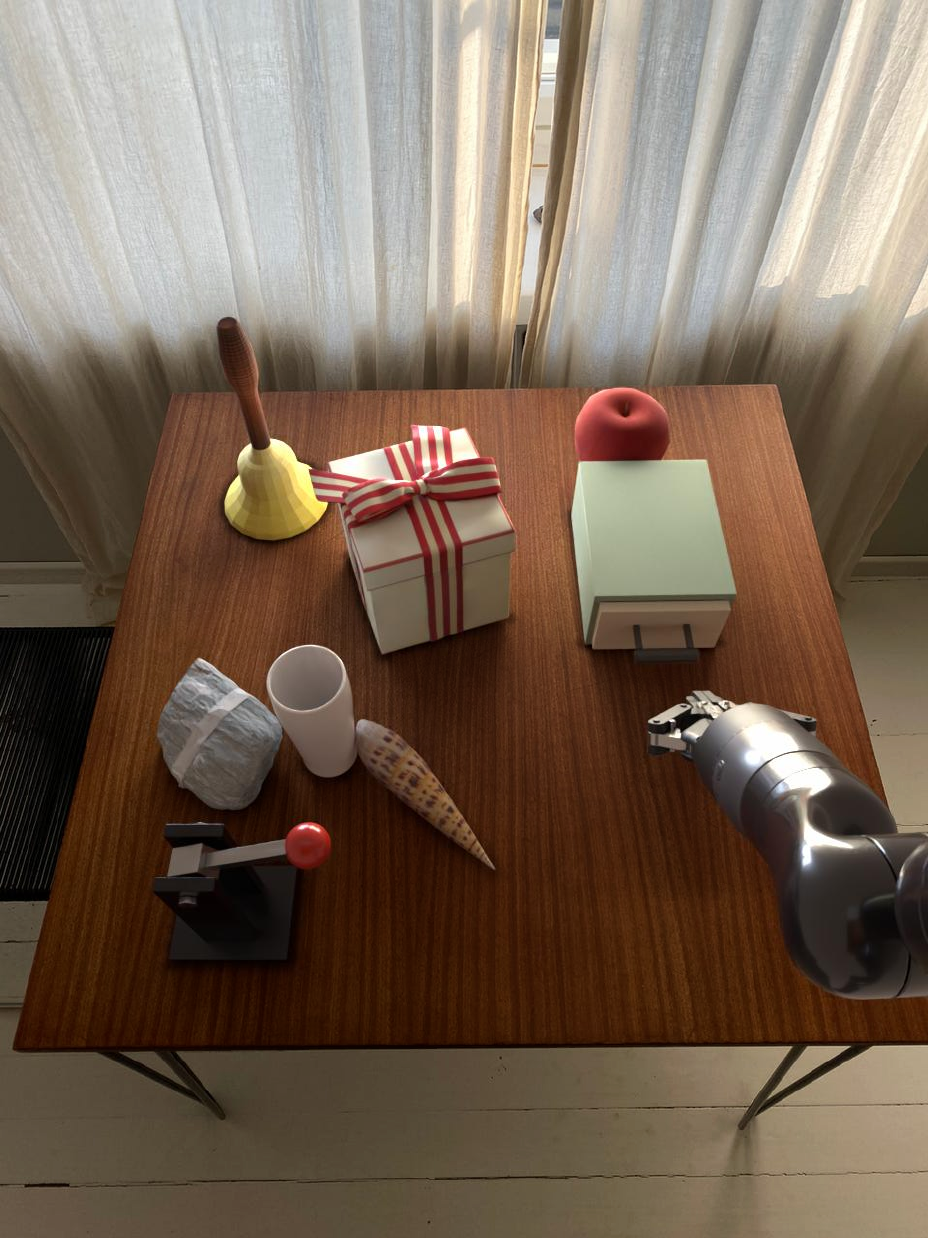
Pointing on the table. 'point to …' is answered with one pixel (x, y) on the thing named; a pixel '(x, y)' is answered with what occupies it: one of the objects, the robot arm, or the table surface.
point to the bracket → (228, 906)
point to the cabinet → (647, 535)
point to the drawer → (660, 628)
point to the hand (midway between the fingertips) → (699, 702)
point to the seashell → (413, 783)
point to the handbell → (262, 456)
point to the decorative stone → (217, 738)
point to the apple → (621, 427)
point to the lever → (253, 854)
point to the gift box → (424, 535)
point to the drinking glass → (315, 707)
